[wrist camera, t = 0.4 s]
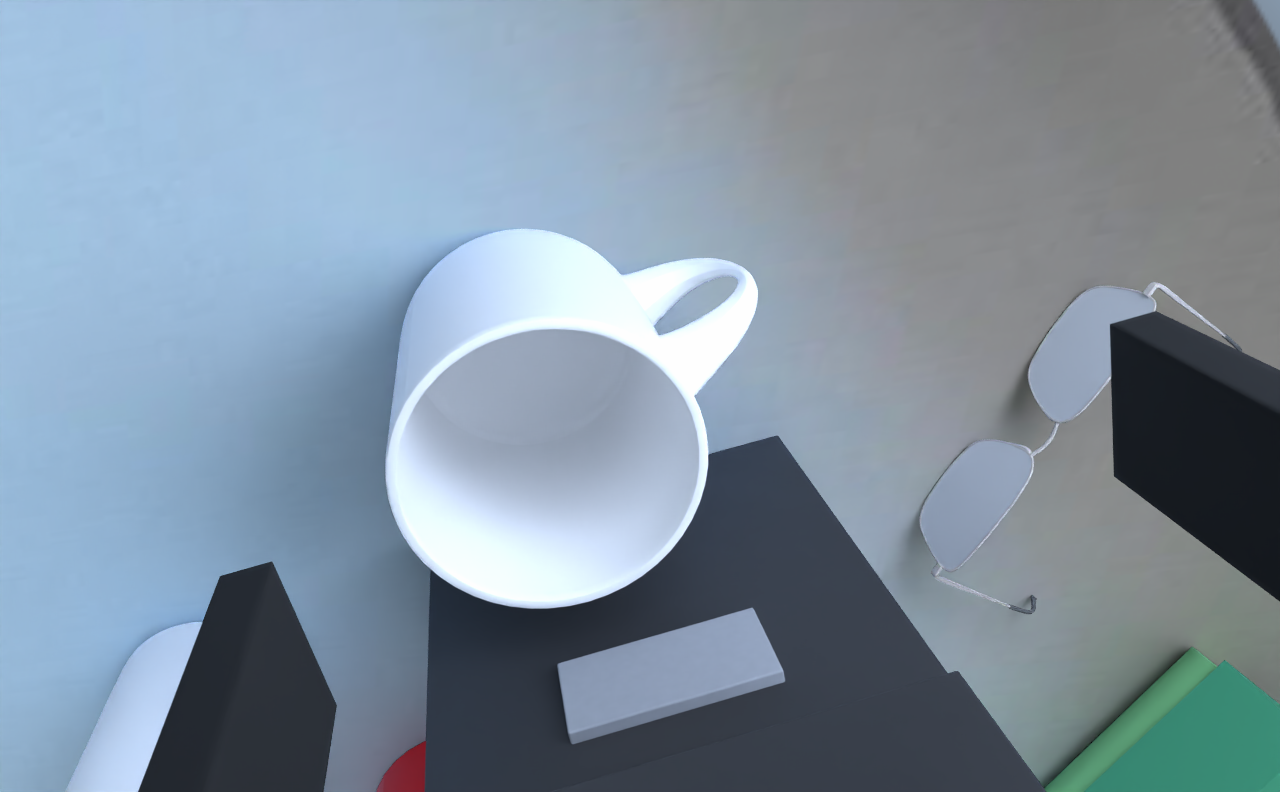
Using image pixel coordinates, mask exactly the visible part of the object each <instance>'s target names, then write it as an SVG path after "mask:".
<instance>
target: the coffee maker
mask: <svg viewBox="0 0 1280 792" xmlns="http://www.w3.org/2000/svg"><path fill="white" fill-rule="evenodd" d="M424 792H1046V790H1045V789H1044V788H1043V786H1042V785H1041V784H1040V782H1039V781H1038V780H1037V778H1036V777H1035V775H1034V774H1033V773H1032V771H1031V770H1030V769H1029V767H1028V766H1027V765H1026V763H1025V762H1024V760H1023V759H1022V758H1021V756H1020V755H1019V754H1018V752H1017V751H1016V749H1015V748H1014V747H1013V745H1012V744H1011V743H1010V741H1009V740H1008V739H1007V737H1006V736H1005V734H1004V733H1003V732H1002V730H1001V729H1000V728H999V726H998V725H997V724H996V722H995V721H994V719H993V718H992V717H991V715H990V714H989V713H988V711H987V710H986V708H985V707H984V706H983V704H982V703H981V702H980V700H979V699H978V698H977V696H976V695H975V693H974V692H973V691H972V689H971V688H970V687H969V685H968V684H967V683H966V681H965V680H964V678H963V677H962V676H961V674H960V673H959V672H958V671H955V672H951V673H947V672H946V671H945V669H944V668H943V666H942V665H941V664H940V662H939V661H938V659H937V658H936V657H935V655H934V654H933V652H932V651H931V650H930V648H929V647H928V645H927V644H926V643H925V641H924V640H923V638H922V637H921V636H920V634H919V633H918V631H917V630H916V629H915V627H914V626H913V624H912V623H911V622H910V620H909V619H908V617H907V616H906V615H905V613H904V612H903V610H902V609H901V608H900V606H899V605H898V603H897V602H896V601H895V599H894V598H893V596H892V595H891V594H890V592H889V591H888V589H887V588H886V587H885V585H884V584H883V582H882V581H881V580H880V578H879V577H878V575H877V574H876V572H875V571H874V570H873V568H872V567H871V565H870V564H869V563H868V561H867V560H866V558H865V557H864V556H863V554H862V553H861V551H860V550H859V549H858V547H857V546H856V544H855V543H854V542H853V540H852V539H851V537H850V536H849V535H848V533H847V532H846V530H845V529H844V528H843V526H842V525H841V523H840V522H839V521H838V519H837V518H836V516H835V515H834V514H833V512H832V511H831V509H830V508H829V507H828V505H827V504H826V502H825V501H824V500H823V498H822V497H821V495H820V494H819V493H818V491H817V490H816V488H815V487H814V486H813V484H812V483H811V481H810V480H809V479H808V477H807V476H806V474H805V473H804V472H803V470H802V469H801V467H800V466H799V465H798V463H797V462H796V460H795V459H794V458H793V456H792V455H791V453H790V452H789V451H788V449H787V448H786V446H785V445H784V444H783V442H782V441H781V439H780V438H779V437H778V436H774V437H771V438H767V439H763V440H760V441H756V442H752V443H749V444H745V445H742V446H738V447H734V448H731V449H727V450H723V451H720V452H716V453H712V454H709V455H708V470H707V476H706V483H705V487H704V490H703V493H702V497H701V500H700V503H699V505H698V507H697V510H696V512H695V514H694V517H693V519H692V521H691V522H690V524H689V526H688V527H687V529H686V531H685V532H684V534H683V536H682V537H681V538H680V539H679V541H678V542H677V543H676V545H675V546H674V547H673V548H672V550H671V551H670V552H669V553H668V554H667V555H666V556H665V557H664V558H663V559H662V560H661V561H660V562H659V563H658V564H657V565H655V566H654V567H653V568H652V569H650V570H649V571H648V572H647V573H645V574H644V575H643V576H641V577H640V578H638V579H637V580H635V581H633V582H632V583H630V584H629V585H627V586H625V587H623V588H621V589H619V590H617V591H615V592H613V593H611V594H609V595H606V596H603V597H600V598H598V599H595V600H592V601H589V602H585V603H580V604H576V605H572V606H566V607H557V608H534V609H530V608H520V607H511V606H506V605H502V604H497V603H492V602H489V601H486V600H483V599H481V598H478V597H475V596H472V595H470V594H468V593H466V592H464V591H462V590H460V589H458V588H456V587H454V586H453V585H451V584H450V583H448V582H447V581H445V580H444V579H442V578H441V577H439V576H438V575H437V574H436V573H435V572H434V571H432V570H431V569H430V606H429V643H428V680H427V717H426V754H425V791H424Z"/></svg>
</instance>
